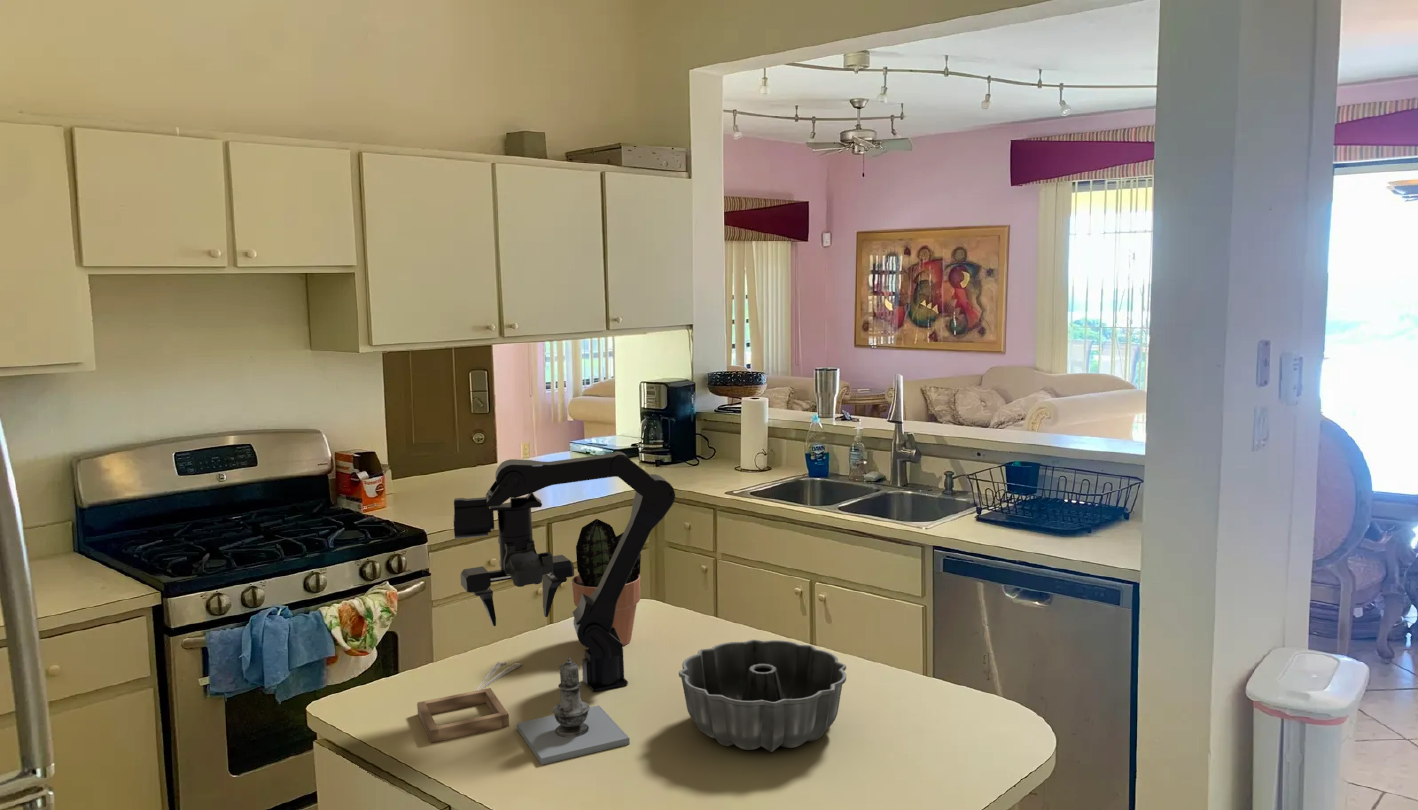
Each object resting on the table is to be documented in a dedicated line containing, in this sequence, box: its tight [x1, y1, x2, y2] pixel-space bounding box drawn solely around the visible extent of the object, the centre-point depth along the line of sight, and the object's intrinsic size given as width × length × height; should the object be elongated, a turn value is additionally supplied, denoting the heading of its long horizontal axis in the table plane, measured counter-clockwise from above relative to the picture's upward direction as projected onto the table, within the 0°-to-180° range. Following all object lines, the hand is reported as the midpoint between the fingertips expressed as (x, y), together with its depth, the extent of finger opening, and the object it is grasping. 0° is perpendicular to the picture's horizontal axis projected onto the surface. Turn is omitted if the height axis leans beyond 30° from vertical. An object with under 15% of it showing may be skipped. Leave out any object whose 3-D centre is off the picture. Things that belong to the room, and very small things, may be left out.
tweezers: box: [474, 661, 522, 691], centre depth 181 cm, size 18×5×2 cm, turn 164°
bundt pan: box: [678, 639, 847, 753], centre depth 158 cm, size 26×26×10 cm
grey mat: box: [516, 704, 631, 766], centre depth 157 cm, size 14×14×1 cm
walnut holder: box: [416, 687, 510, 744], centre depth 165 cm, size 12×12×2 cm
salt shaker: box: [552, 656, 591, 738], centre depth 156 cm, size 6×6×12 cm
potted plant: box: [571, 518, 642, 647], centre depth 198 cm, size 14×14×25 cm
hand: (520, 621), depth 174 cm, fingers open, 9 cm apart
